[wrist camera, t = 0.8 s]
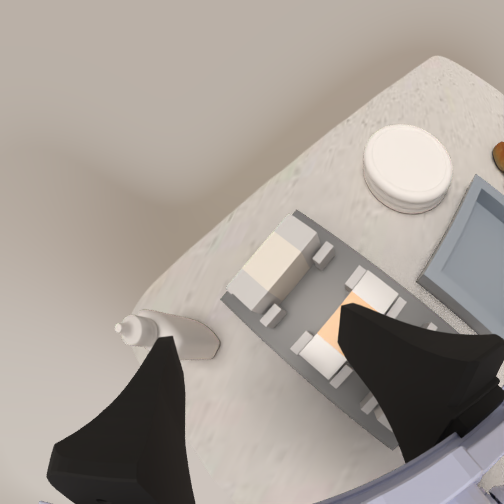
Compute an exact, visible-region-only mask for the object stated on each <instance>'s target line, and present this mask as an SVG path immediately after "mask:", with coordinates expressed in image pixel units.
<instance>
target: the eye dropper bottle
mask: <svg viewBox="0 0 504 504" xmlns="http://www.w3.org/2000/svg"><path fill="white" fill-rule="evenodd" d="M115 331H116V332H117V333H119V334H121V337H122V339H123V341H124V342H125V343H126V344H127V345H130V346H140V347H144V348H145V349H147V350H148V351H149V352H150V350H151V348H152V347H153V345H154V343H155V342H156V340H157V339H158V337H166V336H173V338H174V342H175V345H176V349H177V353H178V356H179V360H203V359H212V358H213V357H214V355H215V353H216V351H217V349H218V347H219V344H220V342H219V340H218V338H217V337H216V335H215V334H214V333H213V332H212V331H211V330H210V329H209V328H208V327H207V326H205V325H204V324H202V323H200V322H198V321H196V320H193V319H189V318H185V317H180V316H176V315H171V314H167V313H162V312H158V311H154V310H147V309H143V310H141V311H139V312H138V314H137V315H129V316H126V317H125V318H124V319H123V321H122V323H118V324H116V325H115Z"/></svg>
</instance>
